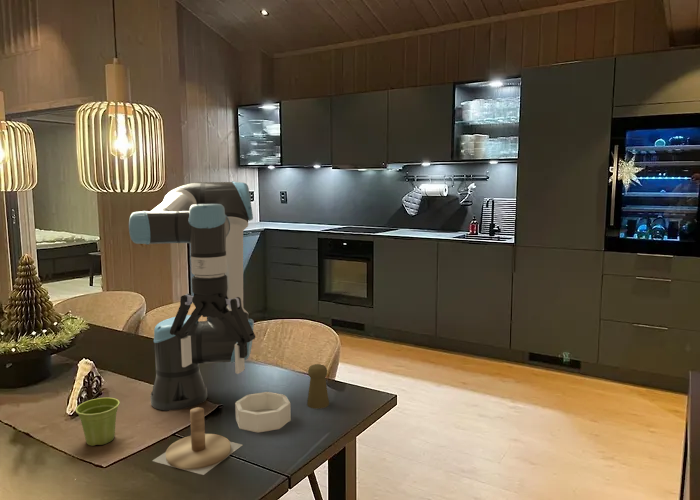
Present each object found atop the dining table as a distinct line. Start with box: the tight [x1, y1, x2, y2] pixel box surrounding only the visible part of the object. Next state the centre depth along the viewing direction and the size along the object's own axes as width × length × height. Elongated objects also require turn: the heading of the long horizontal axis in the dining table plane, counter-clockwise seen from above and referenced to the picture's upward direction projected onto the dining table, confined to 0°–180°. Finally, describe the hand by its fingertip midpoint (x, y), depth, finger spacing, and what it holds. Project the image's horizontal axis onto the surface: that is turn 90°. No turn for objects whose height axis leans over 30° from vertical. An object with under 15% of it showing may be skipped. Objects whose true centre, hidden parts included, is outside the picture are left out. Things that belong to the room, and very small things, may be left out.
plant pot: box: [75, 397, 121, 446], centre depth 128 cm, size 9×9×9 cm
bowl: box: [234, 391, 292, 433], centre depth 137 cm, size 13×13×5 cm
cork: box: [306, 363, 330, 410], centre depth 147 cm, size 6×6×11 cm
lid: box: [165, 406, 231, 470], centre depth 121 cm, size 14×14×10 cm
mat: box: [152, 441, 243, 476], centre depth 121 cm, size 14×14×1 cm
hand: (213, 368), depth 121 cm, fingers open, 13 cm apart
